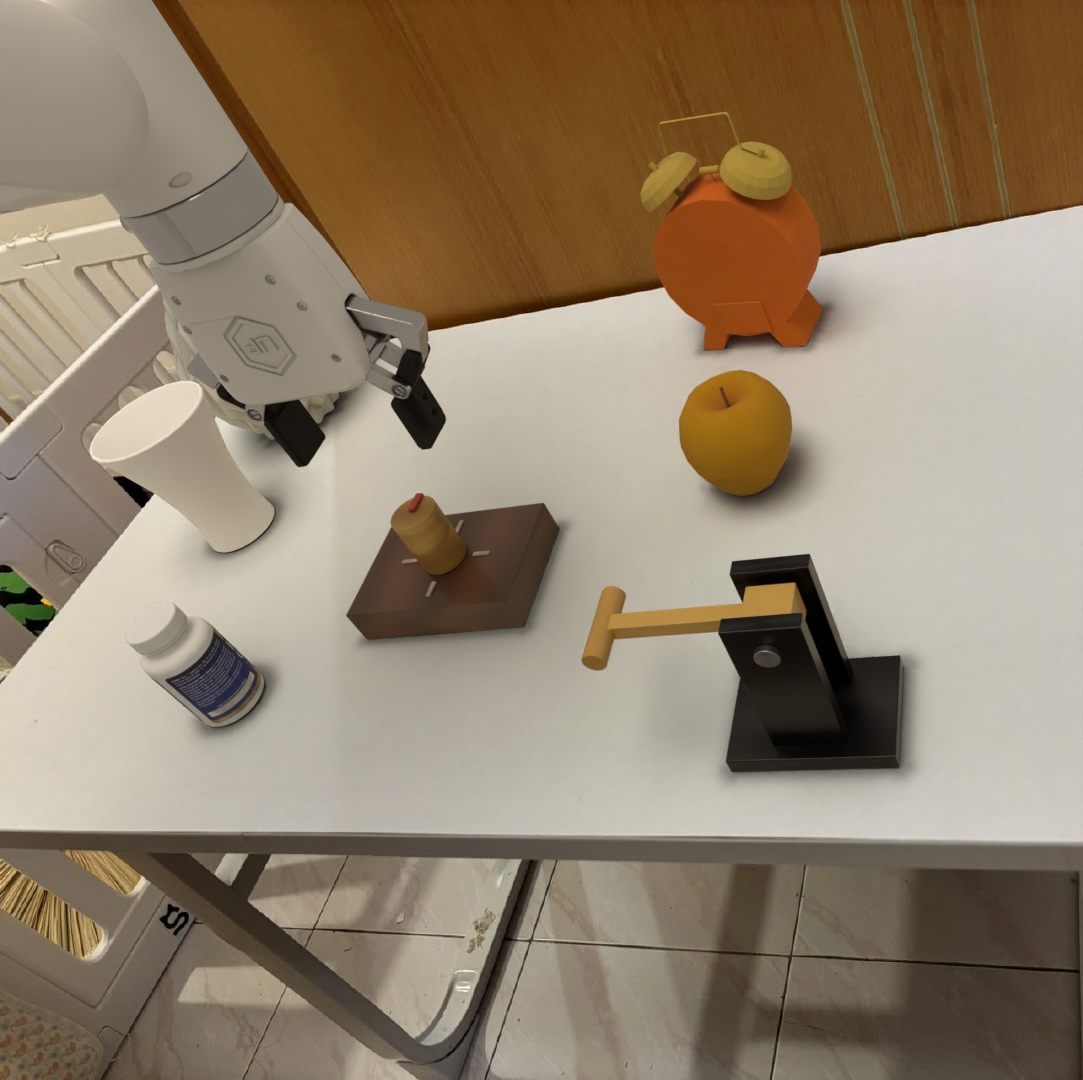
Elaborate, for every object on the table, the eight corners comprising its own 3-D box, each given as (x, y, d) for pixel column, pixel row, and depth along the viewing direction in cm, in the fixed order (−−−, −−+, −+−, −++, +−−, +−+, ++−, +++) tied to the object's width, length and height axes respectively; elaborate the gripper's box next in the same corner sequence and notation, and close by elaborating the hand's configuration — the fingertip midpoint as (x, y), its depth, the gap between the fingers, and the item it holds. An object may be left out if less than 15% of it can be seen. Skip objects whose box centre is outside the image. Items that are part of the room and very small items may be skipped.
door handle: (590, 676, 57) (573, 651, 55) (610, 607, 60) (595, 581, 58) (800, 664, 53) (788, 636, 51) (809, 590, 56) (798, 562, 54)
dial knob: (457, 573, 76) (422, 525, 72) (417, 577, 77) (380, 529, 74) (473, 538, 78) (439, 489, 75) (434, 542, 80) (399, 494, 76)
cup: (304, 524, 93) (209, 412, 84) (199, 588, 91) (91, 480, 82) (283, 473, 100) (195, 364, 91) (187, 530, 98) (86, 426, 89)
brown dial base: (366, 639, 79) (344, 614, 77) (412, 545, 85) (392, 519, 83) (524, 627, 74) (505, 599, 72) (559, 528, 81) (543, 500, 79)
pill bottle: (279, 671, 79) (198, 591, 73) (243, 729, 76) (155, 651, 69) (227, 671, 81) (144, 593, 75) (190, 728, 78) (99, 652, 71)
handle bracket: (731, 772, 60) (663, 652, 52) (747, 675, 65) (687, 552, 57) (899, 768, 57) (854, 639, 49) (903, 666, 61) (863, 534, 54)
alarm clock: (842, 304, 90) (783, 84, 77) (822, 346, 87) (757, 124, 73) (710, 311, 96) (634, 109, 83) (687, 352, 93) (604, 147, 79)
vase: (315, 467, 99) (191, 311, 87) (204, 466, 106) (75, 321, 94) (401, 362, 109) (300, 208, 96) (293, 367, 116) (187, 224, 104)
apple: (823, 492, 74) (792, 399, 68) (715, 534, 75) (676, 446, 69) (792, 427, 81) (761, 336, 75) (693, 466, 81) (655, 380, 75)
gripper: (51, 277, 56) (242, 497, 67) (302, 216, 50) (465, 468, 61) (127, 207, 61) (293, 423, 72) (364, 144, 55) (504, 390, 66)
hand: (372, 444), depth 67 cm, fingers open, 9 cm apart
